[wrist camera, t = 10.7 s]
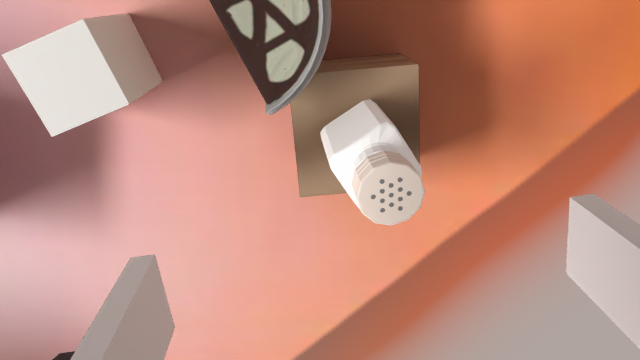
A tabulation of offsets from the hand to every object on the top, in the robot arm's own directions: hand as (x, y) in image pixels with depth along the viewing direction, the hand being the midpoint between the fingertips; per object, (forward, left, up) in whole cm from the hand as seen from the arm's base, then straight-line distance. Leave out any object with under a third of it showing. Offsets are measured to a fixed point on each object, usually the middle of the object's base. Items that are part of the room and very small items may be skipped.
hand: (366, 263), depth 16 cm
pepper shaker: (+1, +2, -17) cm, 17 cm away
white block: (-5, -14, -23) cm, 28 cm away
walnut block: (+1, +2, -23) cm, 23 cm away
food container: (-9, -2, -23) cm, 25 cm away
